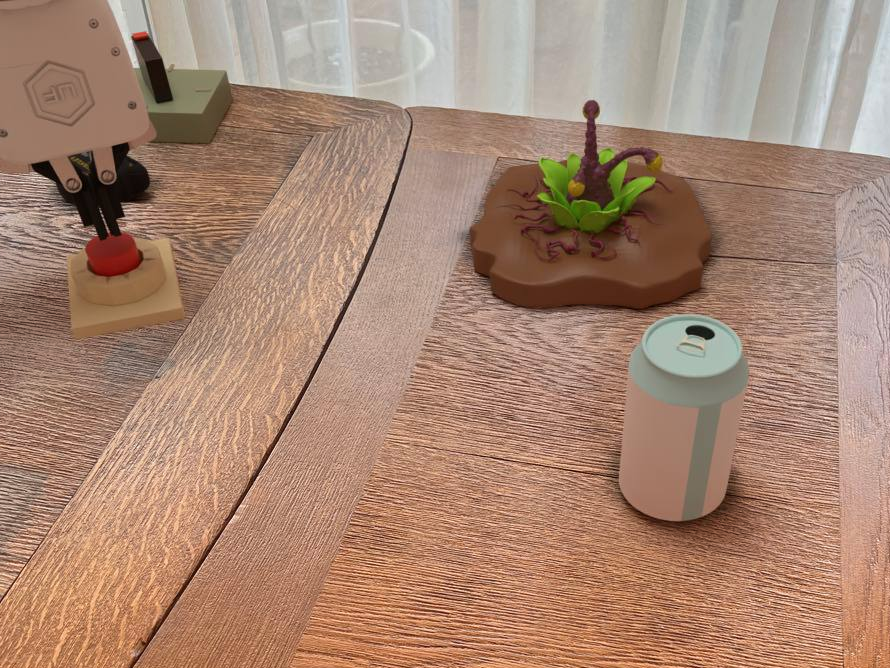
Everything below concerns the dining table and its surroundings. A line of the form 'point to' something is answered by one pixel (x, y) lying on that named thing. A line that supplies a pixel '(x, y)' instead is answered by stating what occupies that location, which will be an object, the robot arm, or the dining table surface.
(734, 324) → the dining table surface
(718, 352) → the can
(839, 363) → the dining table surface
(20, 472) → the dining table surface
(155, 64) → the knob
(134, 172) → the tape measure
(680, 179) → the plant
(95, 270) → the button
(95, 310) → the button box
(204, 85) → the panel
